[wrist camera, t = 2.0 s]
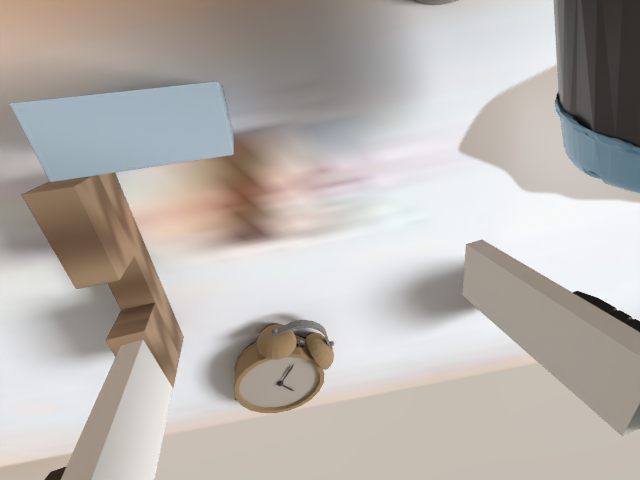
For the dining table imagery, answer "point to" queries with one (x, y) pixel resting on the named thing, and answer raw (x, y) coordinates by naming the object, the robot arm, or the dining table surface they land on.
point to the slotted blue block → (127, 129)
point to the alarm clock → (282, 368)
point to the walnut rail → (109, 259)
